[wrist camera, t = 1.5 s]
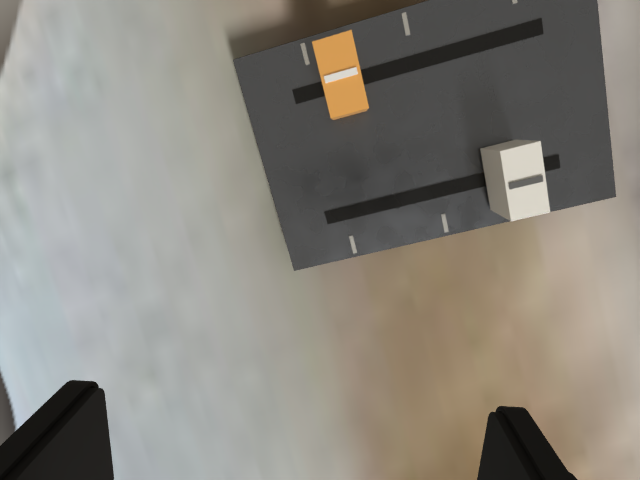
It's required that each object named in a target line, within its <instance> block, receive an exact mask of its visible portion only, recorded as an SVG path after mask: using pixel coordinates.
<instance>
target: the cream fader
mask: <svg viewBox="0 0 640 480" xmlns="http://www.w3.org/2000/svg"><path fill="white" fill-rule="evenodd" d="M480 151H481V157H482V162H483V168H484V174H485V180H486V186H487V192H488V198H489V204H490V210H492V211H493V212H495V213H497V214H499V215H501V216H502V217H504V218H506V219H508V220H509V221H515V220H519V219H524V218H528V217H532V216H537V215H541V214H545V213H550V207H549V199H548V192H547V184H546V177H545V169H544V162H543V154H542V147H541V141H531V140H512V141H508V142H504V143H500V144H496V145H492V146H488V147H484V148H481V149H480Z"/></svg>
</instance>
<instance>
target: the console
mask: <svg viewBox="0 0 640 480" xmlns="http://www.w3.org/2000/svg"><path fill="white" fill-rule="evenodd" d="M349 30H352V34H353V39H354V43H355V47H356V52H357V56H358V61H359V65H360V70H361V74H362V79H363V83H364V88H365V92H366V96H367V101H368V105H369V109H368V110H367V111H365V112H361V113H358V114H354V115H350V116H347V117H343V118H340V119H336V120H332V119H331V117H330V113H329V109H328V105H327V101H326V97H325V93H324V89H323V85H322V81H321V77H320V73H319V69H318V65H317V61H316V56H315V52H314V48H313V44H312V42H313V41H316V40H319V39H323V38H326V37H329V36H333V35H336V34H339V33H342V32H346V31H349ZM233 62H234V65H235V68H236V72H237V75H238V79H239V82H240V86H241V89H242V93H243V96H244V99H245V103H246V106H247V110H248V113H249V117H250V120H251V124H252V127H253V130H254V134H255V137H256V141H257V144H258V148H259V151H260V155H261V158H262V161H263V165H264V168H265V172H266V175H267V179H268V182H269V186H270V189H271V192H272V196H273V199H274V203H275V206H276V210H277V213H278V217H279V220H280V223H281V227H282V230H283V234H284V237H285V241H286V244H287V248H288V251H289V254H290V258H291V261H292V265H293V268H294V271H295V270H300V269H304V268H308V267H313V266H317V265H321V264H326V263H330V262H334V261H339V260H343V259H347V258H352V257H356V256H360V255H365V254H369V253H373V252H378V251H382V250H387V249H391V248H395V247H400V246H404V245H408V244H413V243H417V242H421V241H426V240H430V239H434V238H439V237H443V236H447V235H452V234H456V233H461V232H465V231H469V230H474V229H478V228H482V227H487V226H491V225H495V224H500V223H504V222H508V221H509V220H508V219H506V218H504V217H502V216H501V215H499V214H497V213H495V212H493V211H492V210H490V204H489V198H488V192H487V186H486V180H485V174H484V168H483V162H482V157H481V151H480V149H481V148H484V147H488V146H492V145H496V144H500V143H504V142H508V141H512V140H531V141H541V147H542V154H543V162H544V169H545V177H546V184H547V192H548V199H549V207H550V212H552V211H556V210H561V209H565V208H569V207H574V206H578V205H582V204H587V203H591V202H595V201H600V200H604V199H608V198H613V197H616V192H615V181H614V171H613V160H612V150H611V140H610V129H609V119H608V108H607V98H606V87H605V77H604V66H603V56H602V45H601V35H600V25H599V14H598V4H597V0H428V1H425V2H422V3H418V4H415V5H412V6H408V7H405V8H402V9H399V10H395V11H392V12H389V13H385V14H382V15H379V16H376V17H372V18H369V19H366V20H362V21H359V22H356V23H353V24H349V25H346V26H343V27H339V28H336V29H333V30H330V31H326V32H323V33H320V34H316V35H313V36H310V37H307V38H303V39H300V40H297V41H293V42H290V43H287V44H284V45H280V46H277V47H274V48H270V49H267V50H264V51H261V52H257V53H254V54H251V55H247V56H244V57H241V58H238V59H234V60H233Z"/></svg>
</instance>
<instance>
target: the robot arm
mask: <svg viewBox="0 0 640 480" xmlns="http://www.w3.org/2000/svg"><path fill="white" fill-rule="evenodd" d="M0 480H114V474H113V465H112V456H111V447H110V438H109V429H108V419H107V410H106V401H105V393H104V390H103V389H101V388H99V387H98V384H97V383H96V382H94V381H77V380H71V381H68V382H67V383H66V384H65V385H64V386H62V387H61V388H60V389H59V390H58V391H57V392H56V393H55V394H54V395H53V396H52V397H51V398H50V399H49V400H48V401H47V402H46V403H45V404H44V405H43V406H41V407H40V408H39V409H38V410H37V411H36V412H35V413H34V414H33V415H32V416H31V417H30V418H29V419H28V420H27V421H26V422H25V423H24V424H23V425H22V426H21V427H19V428H18V429H17V430H16V431H15V432H14V433H13V434H12V435H11V436H10V437H9V438H8V439H7V440H6V441H5V442H4V443H3V444H2V445H1V446H0ZM477 480H577V479H576V478H575V476H574V475H573V474H571V473H570V472H568V471H567V469H566V468H565V466H564V465H563V463H562V462H561V460H560V459H559V457H558V456H557V454H556V453H555V451H554V450H553V448H552V447H551V445H550V444H549V442H548V441H547V439H546V438H545V436H544V435H543V433H542V432H541V430H540V429H539V427H538V426H537V424H536V423H535V421H534V420H533V418H532V417H531V416H530V414H529V413H528V411H527V410H526V409H525V408H523V407H507V406H499V407H498V408H497V409H496V412H491V413H490V414H489V416H488V422H487V427H486V433H485V439H484V444H483V450H482V455H481V461H480V467H479V472H478V478H477Z"/></svg>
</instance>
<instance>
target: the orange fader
mask: <svg viewBox="0 0 640 480" xmlns="http://www.w3.org/2000/svg"><path fill="white" fill-rule="evenodd" d="M312 44H313V48H314V52H315V56H316V61H317V65H318V69H319V73H320V77H321V81H322V85H323V89H324V93H325V97H326V101H327V105H328V109H329V113H330V117H331V119H332V120H336V119H340V118H343V117H347V116H350V115H354V114H358V113H361V112H365V111H367V110H368V109H369V105H368V101H367V96H366V92H365V88H364V83H363V79H362V74H361V70H360V65H359V61H358V56H357V52H356V47H355V43H354V39H353V34H352V30H349V31H346V32H342V33H339V34H336V35H333V36H329V37H326V38H323V39H319V40H316V41H313V42H312Z"/></svg>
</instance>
